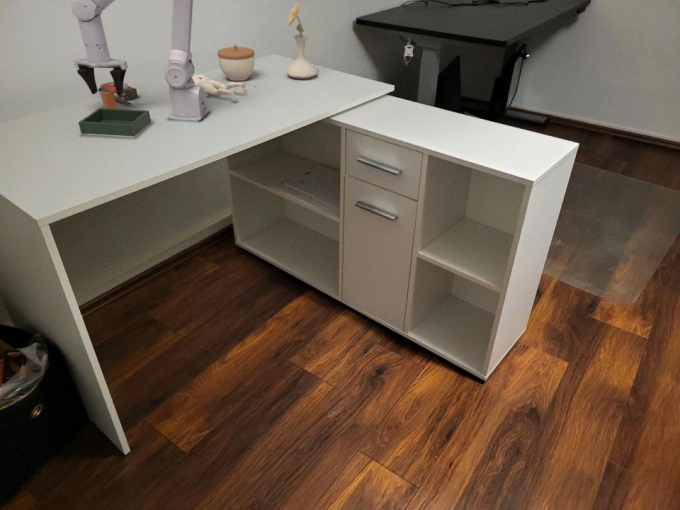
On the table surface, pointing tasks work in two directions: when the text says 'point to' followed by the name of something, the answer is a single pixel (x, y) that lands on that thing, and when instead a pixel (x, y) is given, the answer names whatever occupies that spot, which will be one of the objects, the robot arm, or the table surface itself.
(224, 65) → the dishware bowl
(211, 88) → the superhero figure
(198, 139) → the table surface
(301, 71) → the flower in vase
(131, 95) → the walkie-talkie
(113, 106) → the tube
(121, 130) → the basket
